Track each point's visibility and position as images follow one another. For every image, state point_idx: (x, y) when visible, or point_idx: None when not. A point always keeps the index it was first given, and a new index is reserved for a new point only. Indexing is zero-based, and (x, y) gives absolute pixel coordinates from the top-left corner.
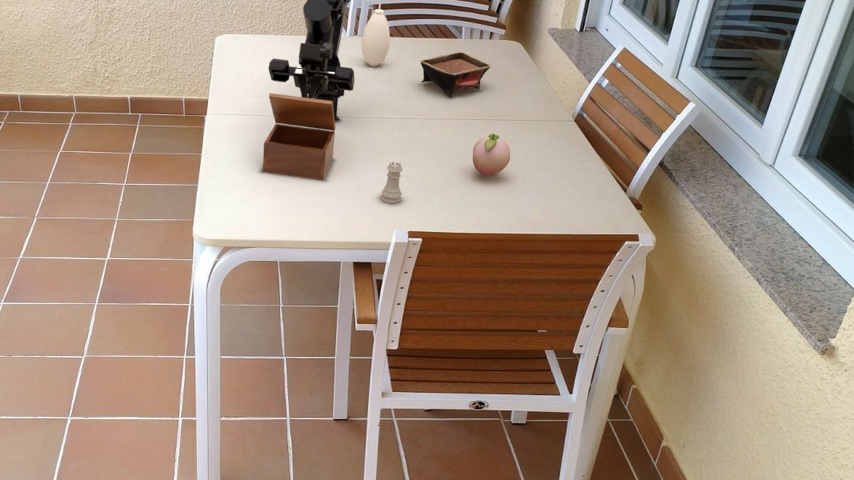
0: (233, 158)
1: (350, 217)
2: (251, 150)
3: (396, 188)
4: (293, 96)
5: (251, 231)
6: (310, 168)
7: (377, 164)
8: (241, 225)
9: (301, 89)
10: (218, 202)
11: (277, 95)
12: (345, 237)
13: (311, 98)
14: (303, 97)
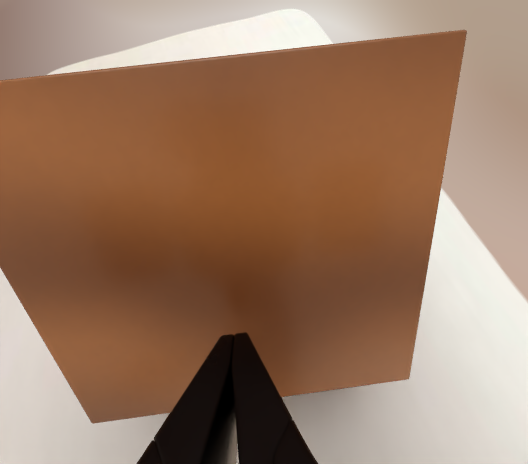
0: (430, 257)
1: None
2: (422, 338)
3: None
4: (255, 54)
5: (243, 27)
6: None
7: (6, 427)
8: (264, 34)
9: (305, 462)
10: None
11: (388, 41)
12: (99, 59)
13: (92, 71)
14: (165, 62)
